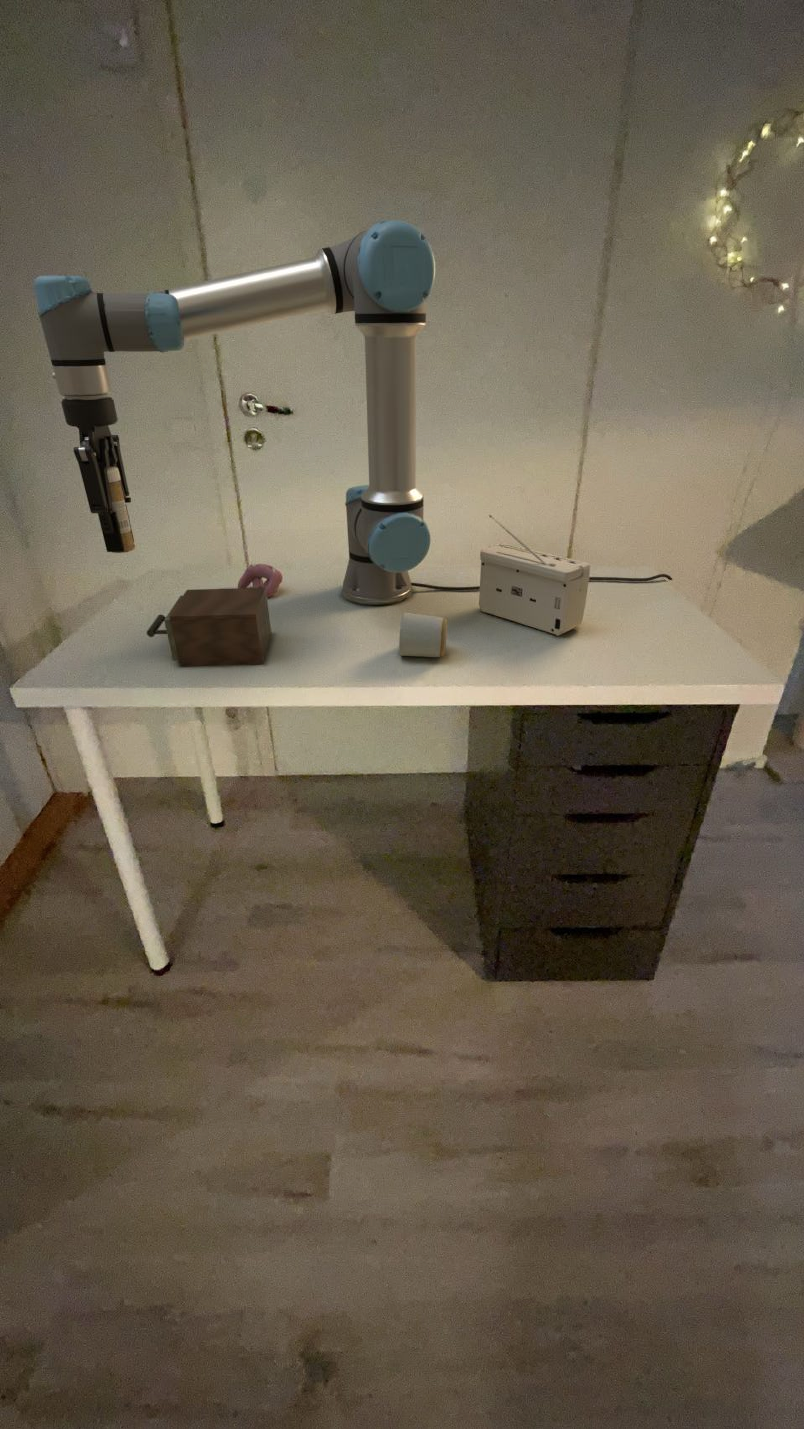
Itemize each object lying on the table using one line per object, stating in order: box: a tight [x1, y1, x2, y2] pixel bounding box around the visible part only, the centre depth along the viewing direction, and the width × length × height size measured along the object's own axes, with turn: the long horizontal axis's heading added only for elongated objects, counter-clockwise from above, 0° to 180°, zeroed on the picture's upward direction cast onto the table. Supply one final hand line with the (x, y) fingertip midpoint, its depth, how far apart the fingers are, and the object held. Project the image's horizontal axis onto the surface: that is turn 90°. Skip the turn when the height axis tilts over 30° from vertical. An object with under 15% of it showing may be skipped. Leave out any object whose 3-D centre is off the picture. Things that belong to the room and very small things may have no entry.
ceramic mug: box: [398, 612, 448, 658], centre depth 118 cm, size 11×8×8 cm
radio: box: [478, 514, 591, 637], centre depth 126 cm, size 21×8×20 cm, turn 47°
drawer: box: [146, 595, 183, 661], centre depth 118 cm, size 18×11×8 cm, turn 92°
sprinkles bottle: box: [107, 467, 136, 554], centre depth 109 cm, size 5×5×13 cm
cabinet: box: [169, 587, 272, 667], centre depth 119 cm, size 15×13×10 cm
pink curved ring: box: [237, 563, 283, 599], centre depth 146 cm, size 10×5×7 cm, turn 58°
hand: (120, 546), depth 112 cm, fingers closed on sprinkles bottle, 4 cm apart
